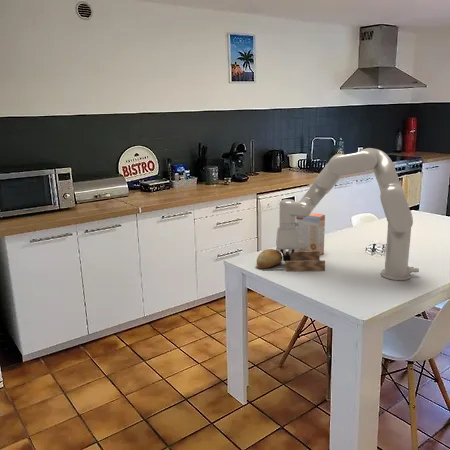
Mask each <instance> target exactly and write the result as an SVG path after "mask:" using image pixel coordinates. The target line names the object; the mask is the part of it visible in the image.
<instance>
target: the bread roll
mask: <svg viewBox="0 0 450 450" xmlns="http://www.w3.org/2000/svg"><path fill="white" fill-rule="evenodd" d="M281 262H283V254H282V253H281V252H279V251H276V249H275V248H274V249H273V248H268V249H263V251H261V252H260V253H259V254H258V256H257V258H256V266H257V267H258V268H259V269H269V268H270V267H273V266H276V265H279V264H281Z"/></svg>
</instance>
